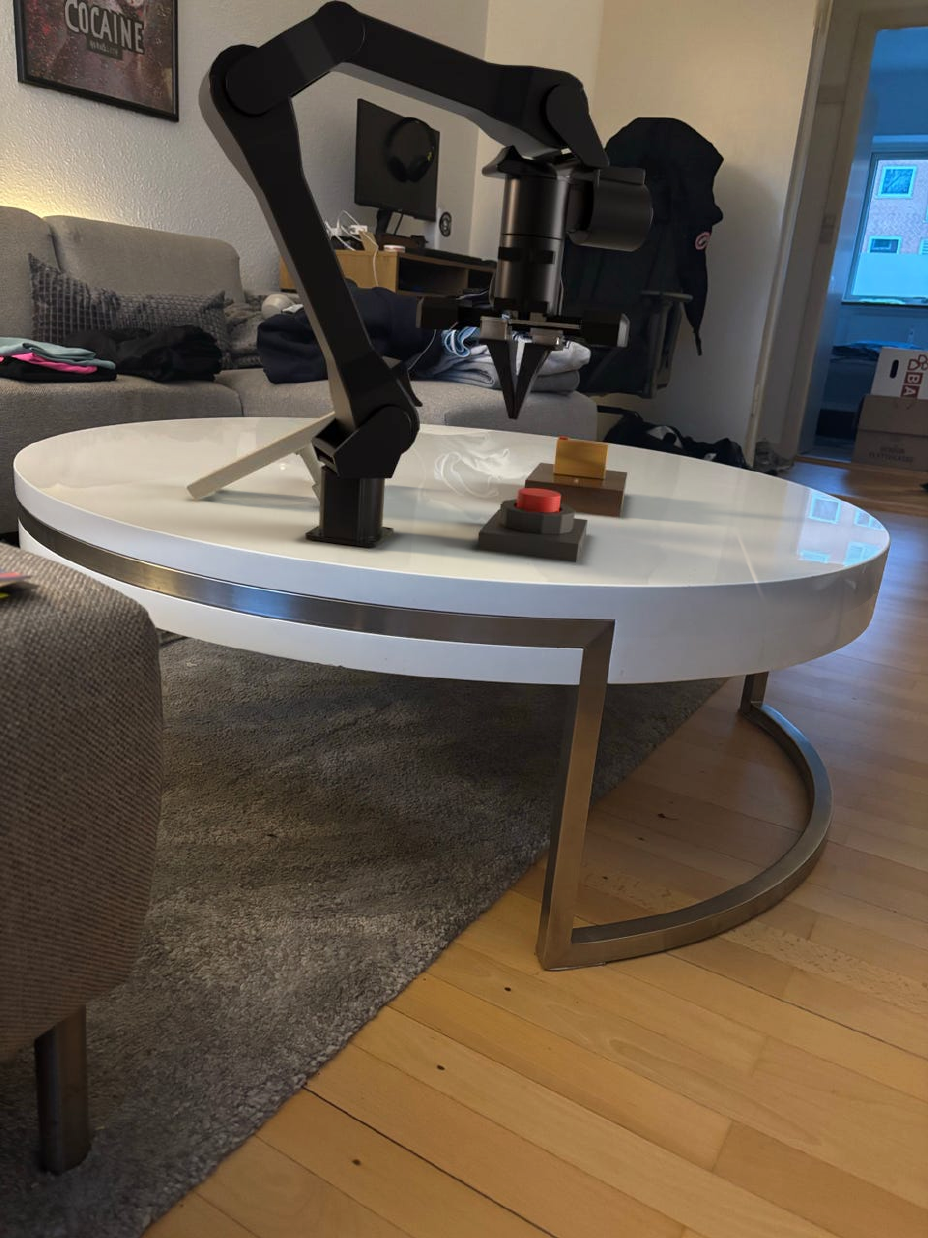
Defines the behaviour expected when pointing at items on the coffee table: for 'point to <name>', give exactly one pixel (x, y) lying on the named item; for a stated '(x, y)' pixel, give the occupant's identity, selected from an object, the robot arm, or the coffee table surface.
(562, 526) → the button base
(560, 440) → the upright gold plate
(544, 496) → the bell button
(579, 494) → the plate
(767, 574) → the coffee table surface
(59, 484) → the coffee table surface
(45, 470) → the coffee table surface
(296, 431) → the door handle
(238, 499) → the coffee table surface
